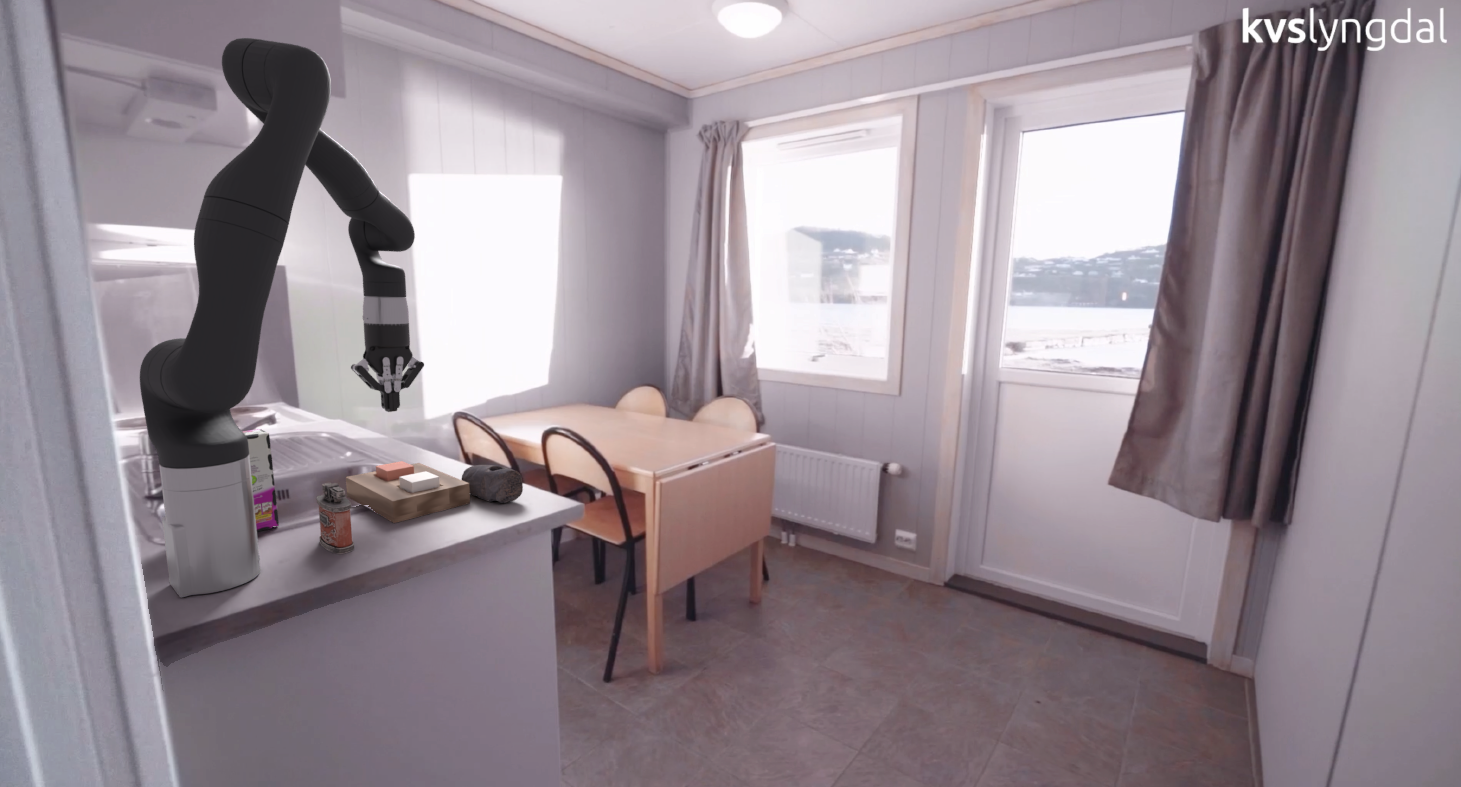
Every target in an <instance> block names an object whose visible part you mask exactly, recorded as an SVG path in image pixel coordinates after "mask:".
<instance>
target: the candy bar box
mask: <svg viewBox="0 0 1461 787" xmlns="http://www.w3.org/2000/svg"><path fill="white" fill-rule="evenodd" d="M241 431H242V430H241ZM242 432H243V433H244V434H245V435H246V437H247V439H248V445H249V456H250V466H251V477H252V488H253V498H254V508H255V518H256V529H257V533H259V532H263V531H266V530H269V529H274V528H276V527H274V528H272V527H273V526H278V527H279V526H280V523H279V513H278V512H279V511H278V503H277V494H276V485H275V477H274V474H275V473H274V468H273V467H274V466H273V457H272V447H271V437H270V433H269V432H267V431H265V430H263V429H262V428H257V429H249V430H243V431H242ZM267 528H268V529H267Z"/></svg>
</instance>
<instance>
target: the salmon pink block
mask: <svg viewBox="0 0 1461 787" xmlns="http://www.w3.org/2000/svg"><path fill="white" fill-rule="evenodd" d="M375 471H376V477H378V478H380V479H382V480H384V481H390V480H395V479H399V477H401V476H406V475H410V474H414V466H412V465H410V463H407V462H405V461H403V460H400V461H395V462H391V463H386V464H385V463H383V464H380V465H376V466H375Z"/></svg>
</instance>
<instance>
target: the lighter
mask: <svg viewBox="0 0 1461 787" xmlns="http://www.w3.org/2000/svg"><path fill="white" fill-rule="evenodd" d="M321 484H322V491H323V492H322V493H323V494H320V495H318V496H316V498H315V499H316V504H317V505H318V514H319V515H318V516H319V529H320V536H319V544H320V545H321V547H323V548H324V550H327V551H328V552H331V553H333V554H336V555H337V554H338V555H342V554H347V553H350V552H353V551H354V550H355V543H354V541H353V534H352V520H351V519H352V518H351V517H352V516H351V509H352V503H351V501H350V500H349V498H348V497H346V490H345V489H344V488H342V487H341V486H339V483H338V482H334V483H331V482H326V483H321Z"/></svg>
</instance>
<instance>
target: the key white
mask: <svg viewBox="0 0 1461 787" xmlns="http://www.w3.org/2000/svg"><path fill="white" fill-rule="evenodd" d="M399 482H400V488H401V489H403V490H405V491H407V492H409V493H414V492H418V491H423V490H427V489H431V488H436V487H440V484H439V476H436V475H434V474H431V473H429V472H427V471H425V472H420V473H415V474H410V475H406V476H401V477H399Z"/></svg>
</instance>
